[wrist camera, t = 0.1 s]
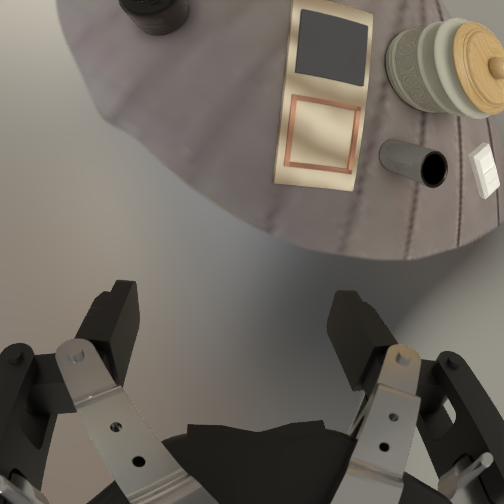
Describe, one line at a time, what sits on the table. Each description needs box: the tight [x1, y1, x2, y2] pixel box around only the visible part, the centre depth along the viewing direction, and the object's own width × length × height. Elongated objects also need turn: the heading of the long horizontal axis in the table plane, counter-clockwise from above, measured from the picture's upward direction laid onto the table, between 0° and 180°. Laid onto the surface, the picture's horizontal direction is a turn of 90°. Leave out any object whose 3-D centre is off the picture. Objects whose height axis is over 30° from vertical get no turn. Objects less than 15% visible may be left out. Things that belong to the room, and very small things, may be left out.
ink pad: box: [295, 9, 368, 86], centre depth 31 cm, size 9×9×1 cm
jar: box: [386, 18, 504, 119], centre depth 26 cm, size 13×13×18 cm
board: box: [273, 0, 373, 191], centre depth 34 cm, size 26×11×2 cm, turn 175°
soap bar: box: [468, 143, 500, 199], centre depth 41 cm, size 5×9×3 cm, turn 37°
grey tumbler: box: [379, 140, 448, 188], centre depth 35 cm, size 4×4×10 cm
